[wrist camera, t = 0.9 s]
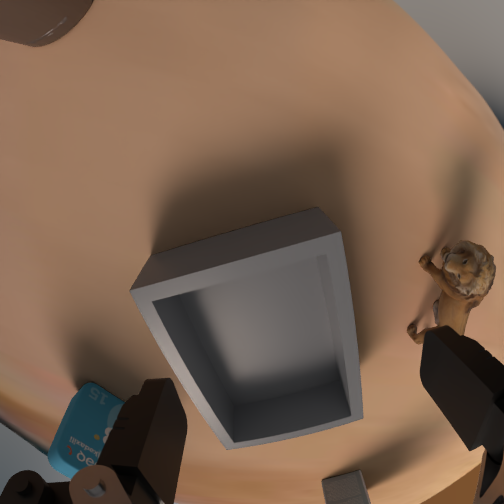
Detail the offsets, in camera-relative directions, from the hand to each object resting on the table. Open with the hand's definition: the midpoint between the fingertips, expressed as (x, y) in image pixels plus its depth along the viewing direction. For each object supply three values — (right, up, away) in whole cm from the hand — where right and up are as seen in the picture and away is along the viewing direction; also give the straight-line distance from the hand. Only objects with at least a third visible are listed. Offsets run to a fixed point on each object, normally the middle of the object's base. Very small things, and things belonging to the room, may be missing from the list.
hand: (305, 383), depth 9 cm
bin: (0, -3, +20) cm, 21 cm away
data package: (-18, -16, +25) cm, 35 cm away
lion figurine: (+16, +1, +19) cm, 25 cm away
